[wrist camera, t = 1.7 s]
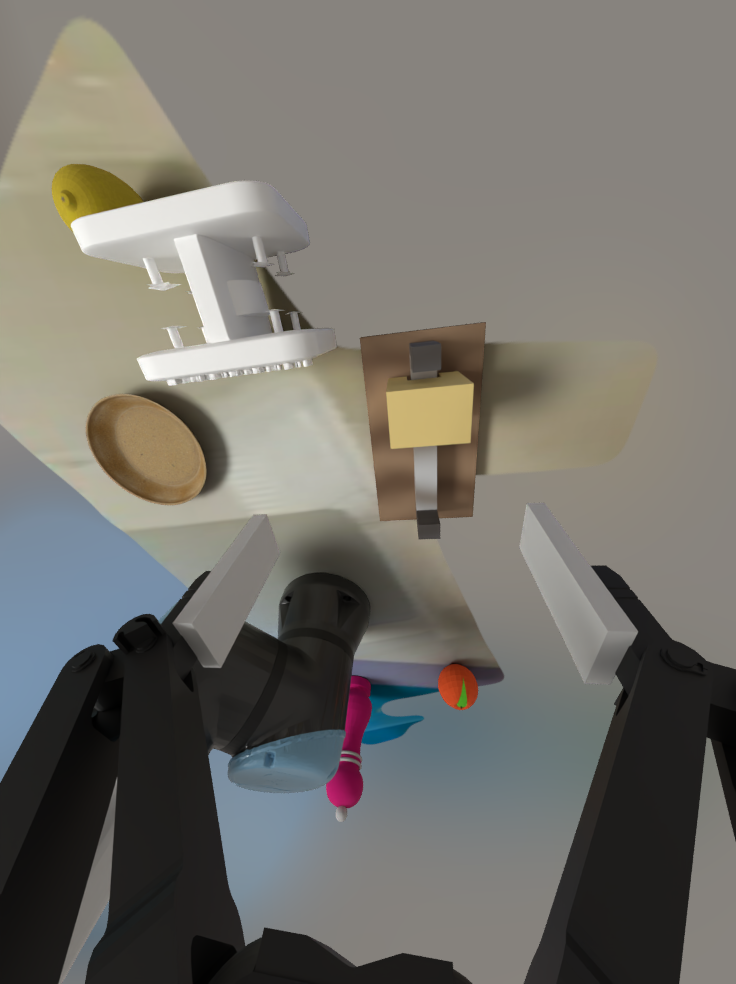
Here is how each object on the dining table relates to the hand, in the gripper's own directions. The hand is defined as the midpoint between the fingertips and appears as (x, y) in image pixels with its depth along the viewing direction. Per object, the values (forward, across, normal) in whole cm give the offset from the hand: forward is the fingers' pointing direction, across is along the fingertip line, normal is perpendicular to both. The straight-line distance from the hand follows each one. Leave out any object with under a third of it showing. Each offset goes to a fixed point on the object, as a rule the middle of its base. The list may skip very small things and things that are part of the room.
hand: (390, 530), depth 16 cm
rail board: (+22, -3, +3) cm, 22 cm away
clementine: (+21, -7, +49) cm, 54 cm away
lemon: (+22, +22, -19) cm, 37 cm away
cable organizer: (+22, +13, -12) cm, 28 cm away
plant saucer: (+22, +31, +2) cm, 38 cm away
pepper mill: (+20, +13, +56) cm, 61 cm away
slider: (+20, -3, -1) cm, 21 cm away
